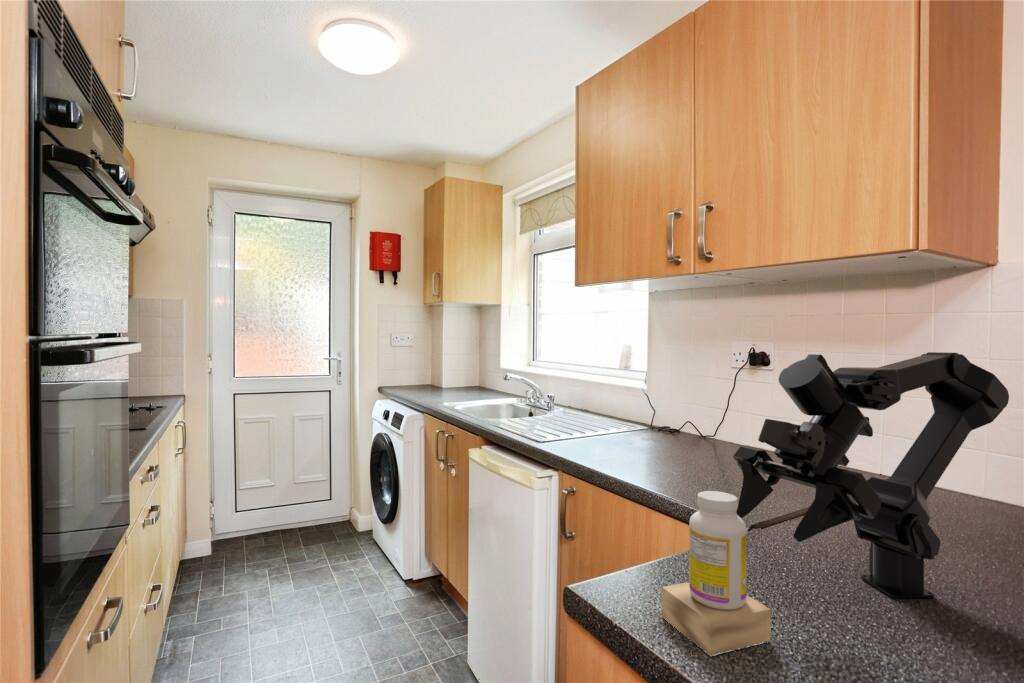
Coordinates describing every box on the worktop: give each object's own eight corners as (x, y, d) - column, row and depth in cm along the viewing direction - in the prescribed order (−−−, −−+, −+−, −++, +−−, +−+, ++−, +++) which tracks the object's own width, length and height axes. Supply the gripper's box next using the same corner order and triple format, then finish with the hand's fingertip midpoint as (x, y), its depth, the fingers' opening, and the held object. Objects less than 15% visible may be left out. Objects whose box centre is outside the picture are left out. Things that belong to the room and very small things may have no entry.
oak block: (770, 642, 61) (770, 609, 61) (710, 657, 58) (710, 622, 58) (716, 606, 69) (716, 577, 70) (661, 617, 66) (661, 586, 66)
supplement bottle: (724, 584, 67) (725, 487, 68) (758, 609, 61) (759, 502, 61) (678, 588, 66) (679, 489, 66) (708, 615, 60) (709, 505, 60)
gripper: (743, 392, 77) (683, 470, 74) (864, 406, 60) (795, 509, 56) (781, 441, 80) (726, 518, 76) (909, 468, 63) (845, 570, 59)
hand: (765, 526), depth 67 cm, fingers open, 9 cm apart
